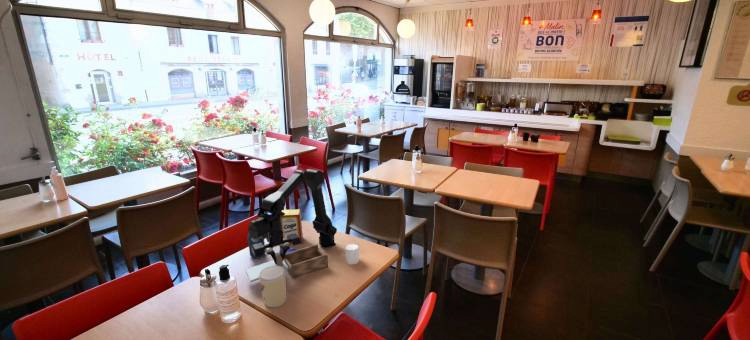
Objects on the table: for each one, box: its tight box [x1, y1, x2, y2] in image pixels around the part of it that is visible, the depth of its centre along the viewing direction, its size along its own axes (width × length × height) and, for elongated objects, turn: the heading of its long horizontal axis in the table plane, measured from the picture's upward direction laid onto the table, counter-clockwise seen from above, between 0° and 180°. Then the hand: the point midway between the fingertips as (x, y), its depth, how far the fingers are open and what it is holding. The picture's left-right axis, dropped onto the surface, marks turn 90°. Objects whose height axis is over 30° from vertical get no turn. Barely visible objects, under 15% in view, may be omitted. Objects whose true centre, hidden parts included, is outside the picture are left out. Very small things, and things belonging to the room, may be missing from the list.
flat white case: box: [245, 251, 289, 283], centre depth 140 cm, size 15×9×5 cm, turn 122°
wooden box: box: [283, 243, 329, 280], centre depth 149 cm, size 16×11×6 cm
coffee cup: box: [258, 266, 287, 308], centre depth 127 cm, size 9×9×12 cm
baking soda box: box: [281, 208, 304, 246], centre depth 170 cm, size 10×6×16 cm
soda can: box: [247, 233, 266, 259], centre depth 159 cm, size 7×7×12 cm
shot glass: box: [343, 242, 361, 265], centre depth 153 cm, size 7×7×7 cm
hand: (278, 262), depth 142 cm, fingers closed on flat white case
